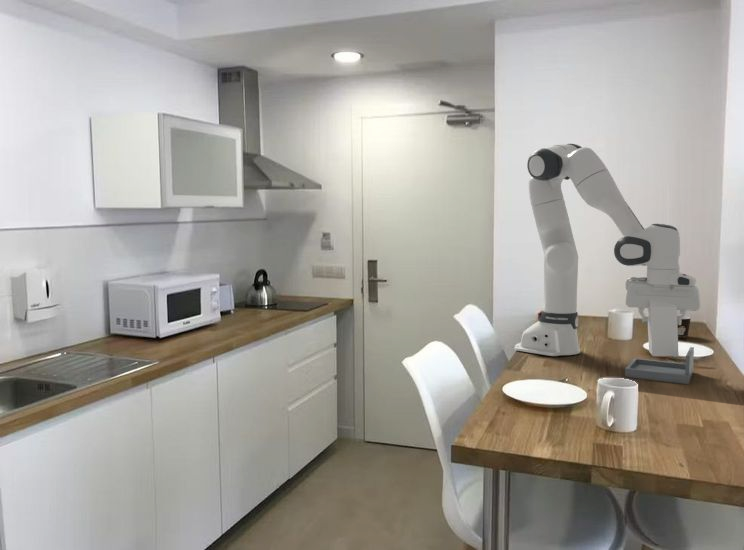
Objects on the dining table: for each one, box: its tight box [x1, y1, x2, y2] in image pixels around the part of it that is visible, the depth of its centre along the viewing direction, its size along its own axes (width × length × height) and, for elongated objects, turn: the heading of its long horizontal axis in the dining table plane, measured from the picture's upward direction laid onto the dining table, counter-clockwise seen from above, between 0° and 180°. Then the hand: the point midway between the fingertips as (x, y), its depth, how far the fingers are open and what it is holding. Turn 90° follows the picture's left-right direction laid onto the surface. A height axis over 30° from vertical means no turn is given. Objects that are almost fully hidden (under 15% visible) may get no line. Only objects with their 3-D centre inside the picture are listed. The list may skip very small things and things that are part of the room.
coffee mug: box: [677, 315, 691, 340], centre depth 232 cm, size 12×9×10 cm
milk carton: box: [646, 299, 679, 357], centre depth 183 cm, size 7×7×19 cm
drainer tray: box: [624, 346, 695, 385], centre depth 184 cm, size 17×16×8 cm
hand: (661, 323), depth 183 cm, fingers closed on milk carton, 8 cm apart
